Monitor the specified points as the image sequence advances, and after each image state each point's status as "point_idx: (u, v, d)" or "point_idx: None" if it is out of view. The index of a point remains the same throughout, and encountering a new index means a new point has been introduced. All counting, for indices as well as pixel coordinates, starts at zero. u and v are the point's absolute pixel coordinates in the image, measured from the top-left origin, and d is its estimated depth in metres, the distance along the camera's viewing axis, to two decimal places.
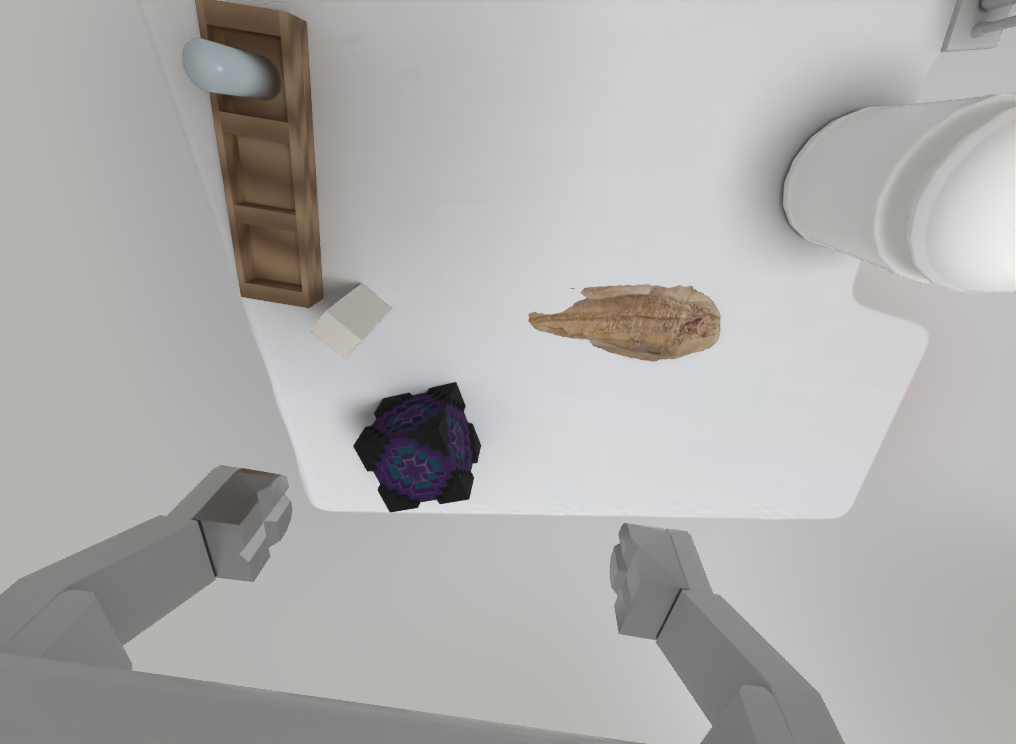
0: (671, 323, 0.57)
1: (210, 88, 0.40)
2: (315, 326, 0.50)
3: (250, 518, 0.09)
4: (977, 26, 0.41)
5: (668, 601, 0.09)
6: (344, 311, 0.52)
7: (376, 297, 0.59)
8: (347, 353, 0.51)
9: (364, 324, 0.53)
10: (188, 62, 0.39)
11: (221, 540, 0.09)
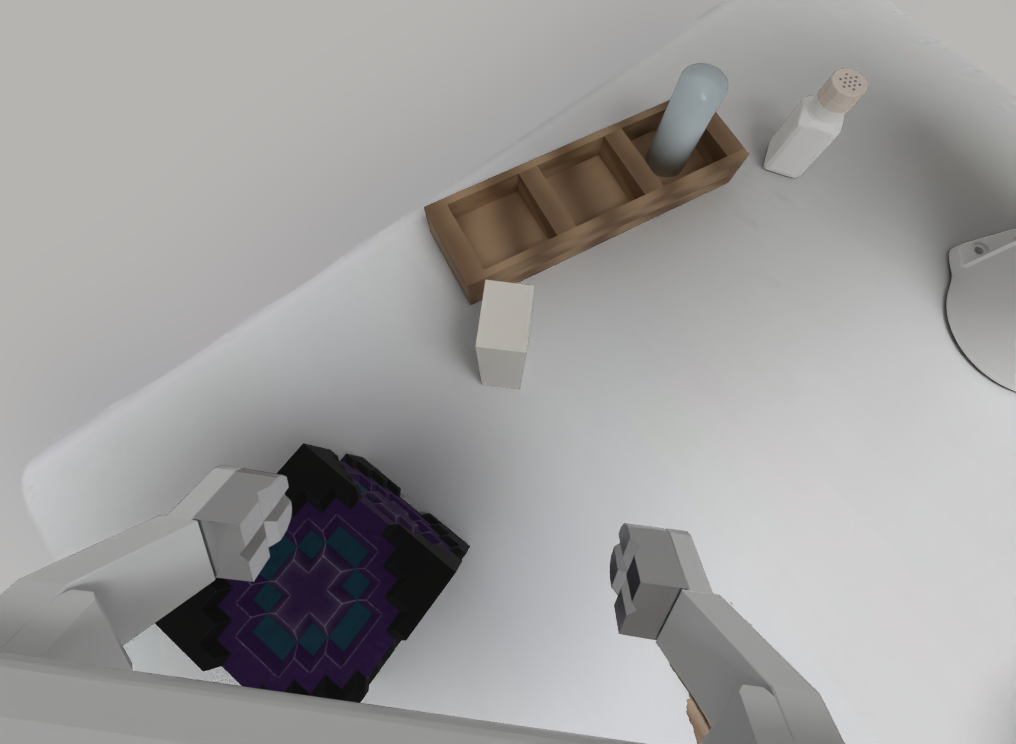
0: None
1: (688, 90, 0.36)
2: (500, 283, 0.31)
3: (250, 518, 0.09)
4: None
5: (668, 601, 0.09)
6: None
7: None
8: (488, 344, 0.29)
9: None
10: (694, 69, 0.37)
11: (221, 540, 0.09)
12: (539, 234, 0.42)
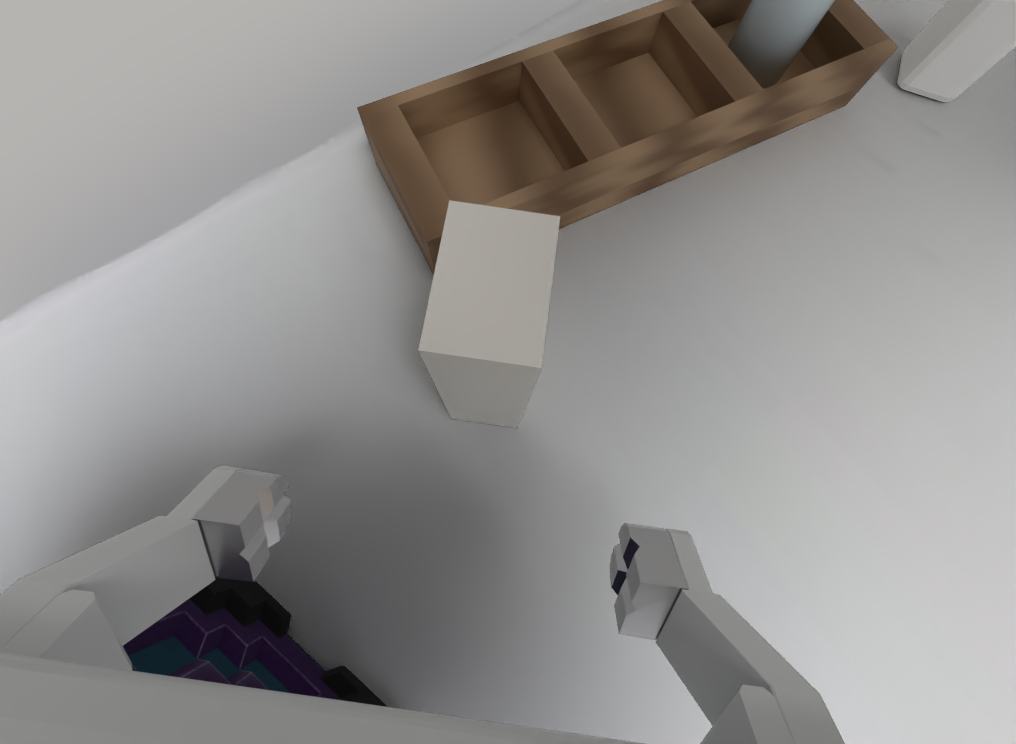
0: None
1: None
2: (483, 210, 0.14)
3: (250, 518, 0.09)
4: None
5: (668, 602, 0.09)
6: None
7: None
8: (448, 346, 0.12)
9: None
10: None
11: (221, 540, 0.09)
12: (554, 168, 0.26)
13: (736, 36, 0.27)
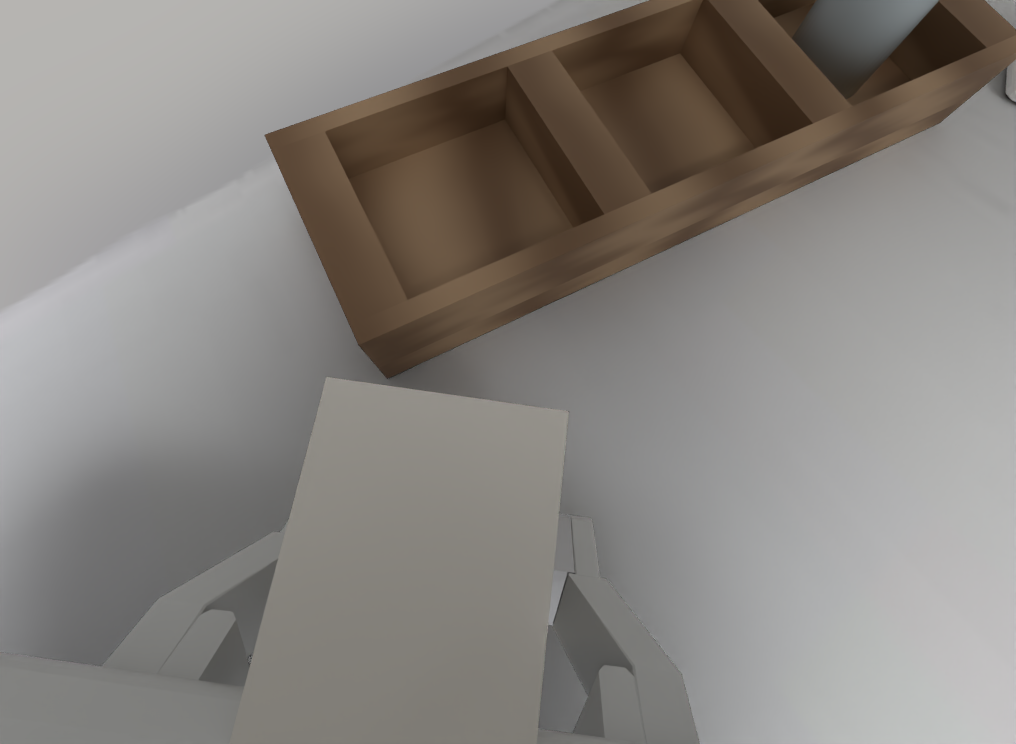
0: None
1: None
2: (399, 399, 0.06)
3: None
4: None
5: (558, 586, 0.09)
6: None
7: None
8: None
9: None
10: None
11: None
12: (554, 215, 0.18)
13: (804, 30, 0.19)
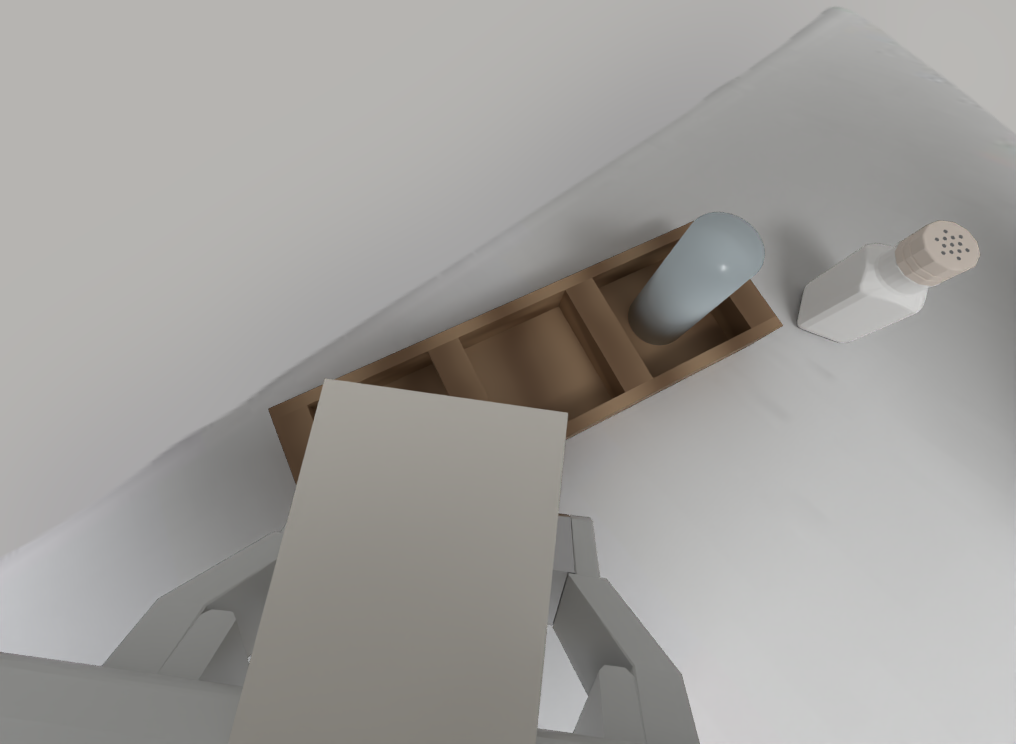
0: None
1: (699, 262, 0.21)
2: (398, 401, 0.06)
3: None
4: None
5: (557, 586, 0.09)
6: None
7: None
8: None
9: None
10: (709, 222, 0.22)
11: None
12: None
13: (636, 306, 0.29)
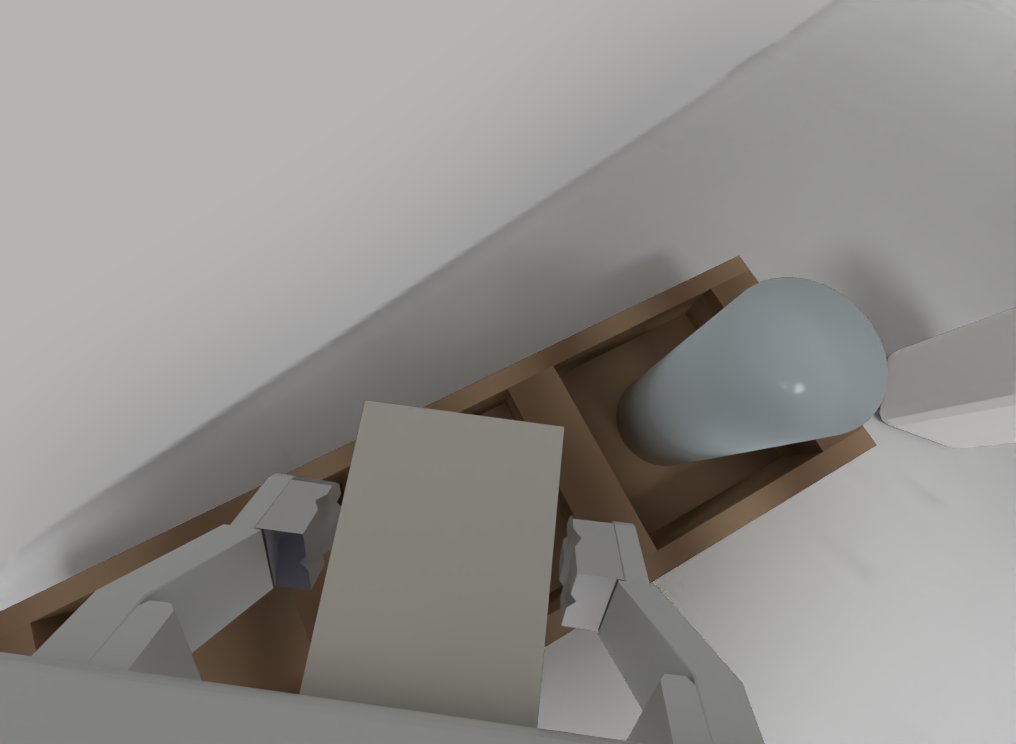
0: None
1: (752, 391, 0.10)
2: (425, 418, 0.08)
3: (311, 526, 0.09)
4: None
5: (606, 593, 0.09)
6: None
7: None
8: None
9: None
10: (768, 300, 0.11)
11: (283, 549, 0.09)
12: None
13: (628, 409, 0.17)
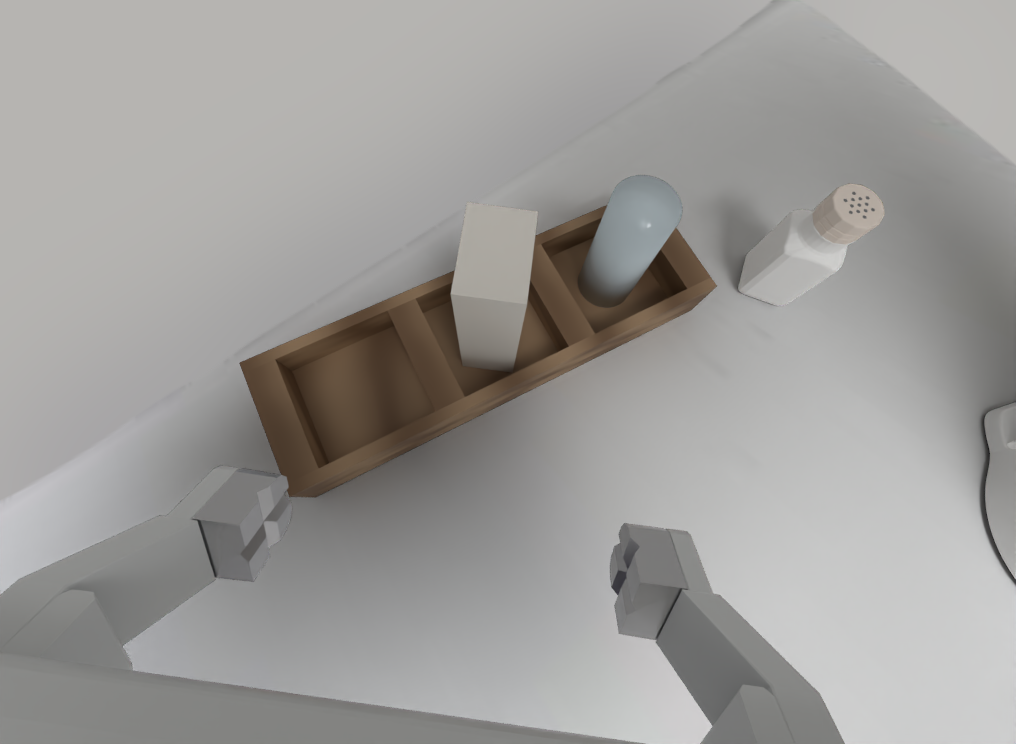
0: None
1: (622, 219, 0.24)
2: (488, 208, 0.21)
3: (251, 518, 0.09)
4: None
5: (668, 601, 0.09)
6: None
7: None
8: (469, 292, 0.20)
9: None
10: (632, 184, 0.24)
11: (221, 540, 0.09)
12: (420, 393, 0.30)
13: (582, 270, 0.31)
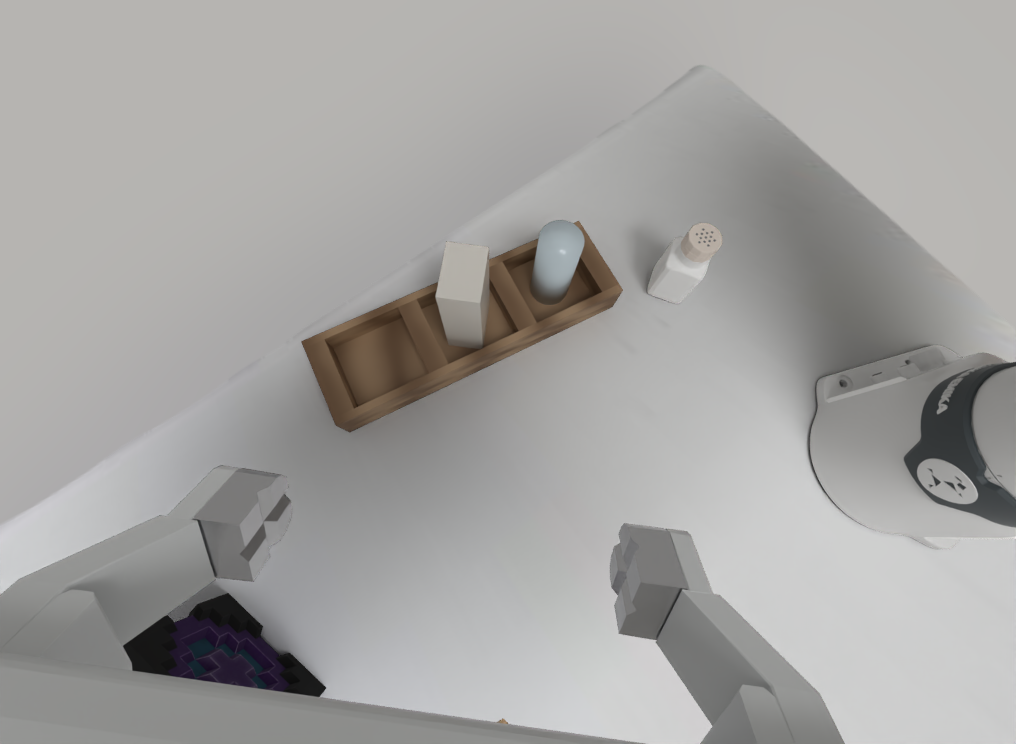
0: None
1: (545, 249, 0.38)
2: (459, 245, 0.35)
3: (250, 518, 0.09)
4: None
5: (668, 601, 0.09)
6: (486, 277, 0.37)
7: (485, 326, 0.45)
8: (446, 295, 0.34)
9: (482, 308, 0.37)
10: (553, 226, 0.38)
11: (221, 540, 0.09)
12: (419, 363, 0.44)
13: (531, 279, 0.45)
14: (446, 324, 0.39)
